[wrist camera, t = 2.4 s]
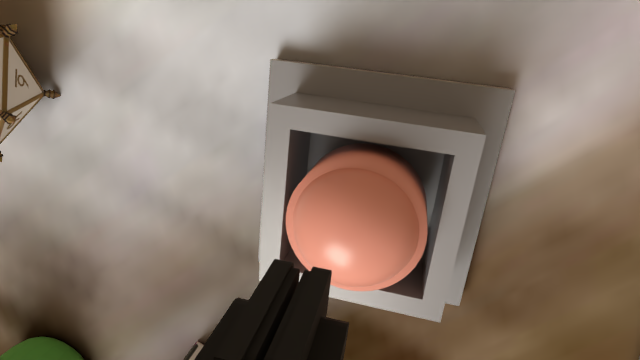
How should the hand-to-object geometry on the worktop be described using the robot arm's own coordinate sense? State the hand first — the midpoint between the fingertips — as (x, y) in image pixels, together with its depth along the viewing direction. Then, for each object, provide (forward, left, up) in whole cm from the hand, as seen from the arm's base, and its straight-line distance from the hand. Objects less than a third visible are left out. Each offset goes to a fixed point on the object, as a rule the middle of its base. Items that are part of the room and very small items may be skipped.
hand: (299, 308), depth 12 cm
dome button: (-1, 0, -10) cm, 10 cm away
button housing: (-1, 0, -12) cm, 12 cm away
